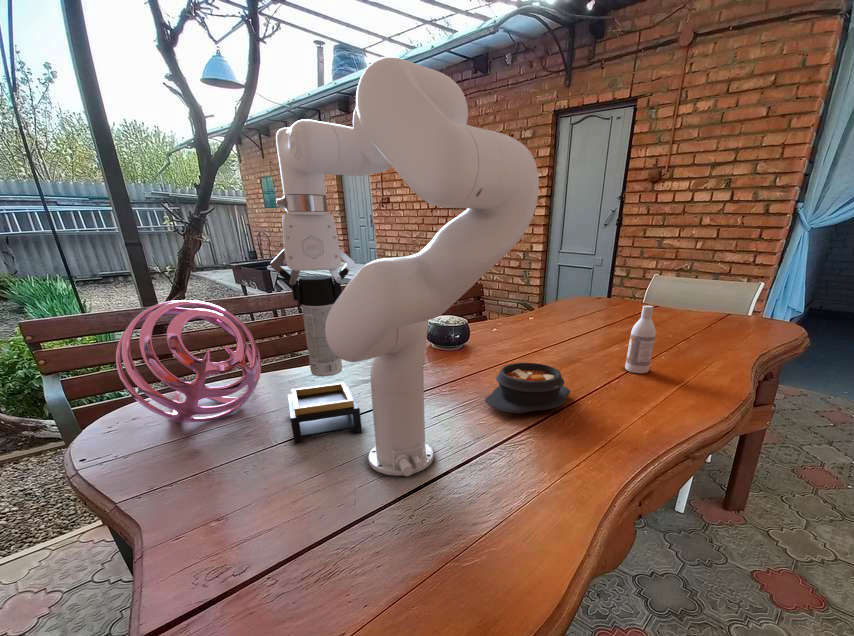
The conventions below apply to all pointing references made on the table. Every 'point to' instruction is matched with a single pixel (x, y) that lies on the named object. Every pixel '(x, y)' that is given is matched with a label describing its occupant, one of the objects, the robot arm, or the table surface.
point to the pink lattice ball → (190, 362)
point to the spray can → (318, 323)
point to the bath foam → (641, 343)
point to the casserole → (528, 388)
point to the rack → (323, 411)
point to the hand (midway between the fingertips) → (318, 302)
